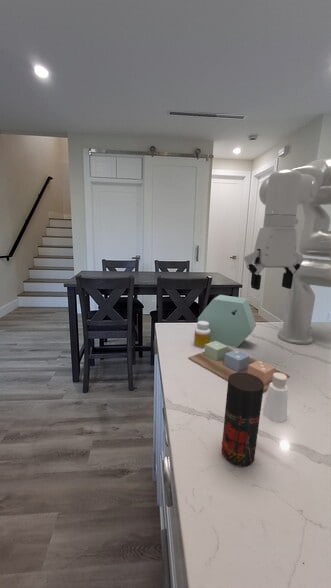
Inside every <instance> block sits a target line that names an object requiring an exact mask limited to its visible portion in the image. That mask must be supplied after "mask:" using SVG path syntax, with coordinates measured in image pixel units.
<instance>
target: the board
mask: <svg viewBox="0 0 331 588" xmlns="http://www.w3.org/2000/svg"><path fill="white" fill-rule="evenodd" d="M234 350H235V349H233V348H229V347H228V351H227V353H229V352H231V351H234ZM204 352H205V351H202V352H200V353H196V354H193V355H191V356H188V358H187V359H188V360H189V361H191V362H192V363H195V364H197V365H198V366H199V367H202V368H203V369H205V370H207V371H209V372H210V373H212V374H214V375H216V376H218V377H219V378H221V379H223V380H225V381H226V382H228V378H229V376H230V375H231V374H234V373H238V372H236V371H234V370H232V369H230V368H228V367H226V366H224V359H225V358H224V359H221V360H219V361H215V360H213V359H211V358H209V357H207V356H205V355H204ZM256 361H258V360H257V359H254V358H252V357H250V359H249V364H252V363H254V362H256ZM247 372H248V368H247V369H245V370H243V371H241V372H239V373H247ZM275 373H282V374H284V375H286V376H287V379H289V378H290V375H289V374H288V373H286V372H283V371H281V370H280V369H279V370H278V369H276V368H275ZM272 382H273V381H272ZM270 383H271V382H270ZM270 383H268V384H267V385H265V386H264V389H263V394H264V393H267V391H268V387H269V384H270Z"/></svg>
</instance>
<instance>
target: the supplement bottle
mask: <svg viewBox="0 0 331 588" xmlns="http://www.w3.org/2000/svg"><path fill="white" fill-rule="evenodd" d="M196 326H197V327H196V328H194V338H193V339H194V340H193V345H194V346H195V347H196V348H198V349H205V344H208V343H211V342H210V333H211V331H210V329H209V323H208V322H206V321H198V320H197V324H196Z"/></svg>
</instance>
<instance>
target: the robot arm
mask: <svg viewBox="0 0 331 588" xmlns="http://www.w3.org/2000/svg"><path fill="white" fill-rule="evenodd" d="M258 193H259V194H258V196H259V200H260V202H261V204H263V205H264V206H265V207H264V208H265V209H264V215H263V216H264V218H263V225H262V227H261V228H259V231H258V234H257V237H256V239H255V240H256V241H255V245H254V249H253V252H251V253H250V254H248V255H246V256H245V257H243V258H244V259H243V260H244V261H245V266H246V268H247V269H248V271H249V273H250V274H251V278H250V287H251V289H254V290H257V291H258V290H260V289H261V280H262V274H261V272H262V271H263V270H264V269H265V268H268V269H269V268H271V269H272V268H273V269H275V268H283V269H284V271H285V272H283V275H282V279H281V280H282V282H281V287H282V288H285V289H287V296H286V303H285V309H284V317H283V324H282V328H281V330H278V331H277V337H278V338H279V339H281V340H282V341H285V342H286V343H287V342H288V343H291V344H297V345H309V344H312V343H313V341H314V338H313V337H312V336H311V334H310V331H312V330H313V327H312V326H311V325H312V319H313V314H314V313H313V312H314V309H315V308H314V307H315V301H316V295H315V292H314V291H313V289H312V287H311V286H317V287H324V288H331V230H329V228H330V224H331V217H330V215H329V213H328V212H327V211H326V210H325V209H324V208H323V206H324V205H331V157H329V158H328V157H327V158H321V159H316V160H313V161H310V162H308V163H306V164H305V165H303V166H299V167H295V168H292V169H279V170H276V171H273V172H271V173H270V175H269V176H268V177H266V178H265V179H264V180H263V181H262V183H261V185H260V187H259V191H258ZM300 205H301V207H302V210H303V215H304V224H303V226H302V231H301V235H300V239H299V243H298V241H297V239H298V237H297V229H296V228H295V227H296V225H298V224H299V220H298V218H297V214H298V208H299V207H298V206H300ZM322 205H323V206H322ZM297 244H298V247H297ZM297 248H298V252H299V253H298V252H297ZM300 254H301V255H300ZM303 256H306V257H303ZM308 256H309V257H316V258H309V257H308ZM317 257H318V258H317ZM319 258H328V259H319Z"/></svg>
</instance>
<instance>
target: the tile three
mask: <svg viewBox="0 0 331 588" xmlns="http://www.w3.org/2000/svg"><path fill="white" fill-rule="evenodd" d="M275 369H276V366H273V365H271V364H269V363H267V362H265V361H262V360H257V361H256V362H254V363H252V364H249V365H248V372H247V373H248V374H252V375H254V376H257V377H258V378H260V379H261V380H262V381H263V383H264V386H265V385H267V384H268V383H270V382H272V381H273V374H274V373H275Z"/></svg>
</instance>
